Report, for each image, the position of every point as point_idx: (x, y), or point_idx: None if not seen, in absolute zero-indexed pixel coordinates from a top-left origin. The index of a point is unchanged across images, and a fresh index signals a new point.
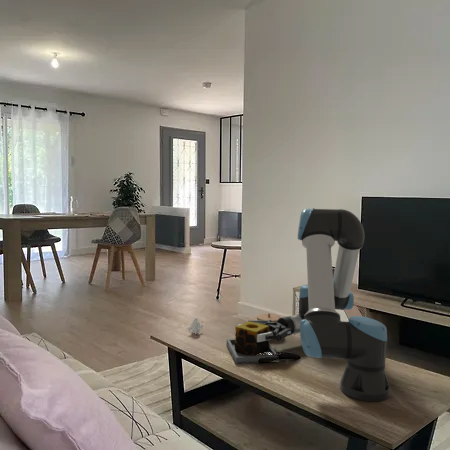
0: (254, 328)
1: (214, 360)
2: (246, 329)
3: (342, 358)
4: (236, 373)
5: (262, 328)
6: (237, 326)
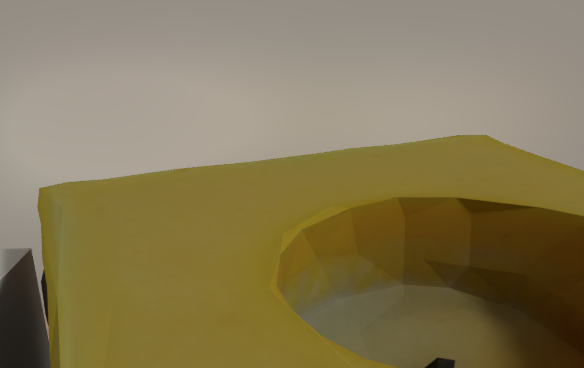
0: (251, 233)
1: None
2: (279, 162)
3: None
4: (44, 313)
5: (65, 334)
6: (485, 142)
